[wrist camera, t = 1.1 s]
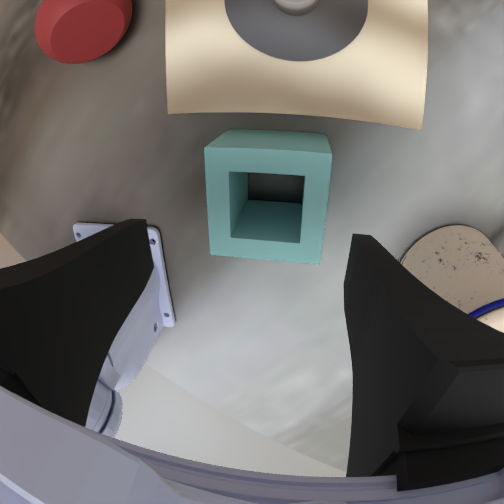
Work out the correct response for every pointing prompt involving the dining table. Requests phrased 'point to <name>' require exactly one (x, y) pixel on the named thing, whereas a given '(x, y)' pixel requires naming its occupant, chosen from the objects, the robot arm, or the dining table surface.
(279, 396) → the dining table surface
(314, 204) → the collar
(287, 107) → the post base
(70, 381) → the robot arm
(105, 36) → the fruit
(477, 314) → the teacup with lid
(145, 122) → the dining table surface
